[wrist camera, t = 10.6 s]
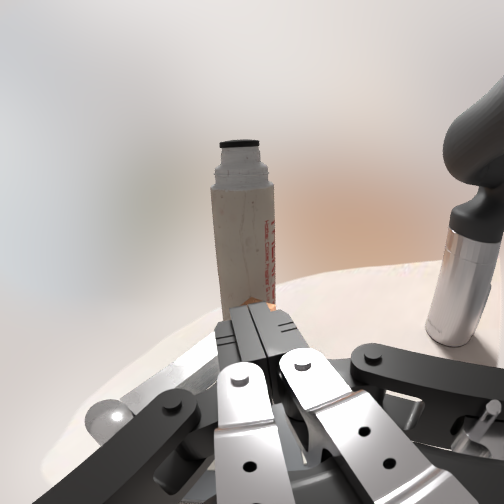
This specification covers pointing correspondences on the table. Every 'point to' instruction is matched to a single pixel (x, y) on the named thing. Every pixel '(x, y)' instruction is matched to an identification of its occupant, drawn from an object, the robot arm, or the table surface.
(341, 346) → the table surface
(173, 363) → the swing arm
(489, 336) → the table surface
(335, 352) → the table surface
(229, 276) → the thermos bottle
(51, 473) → the table surface
